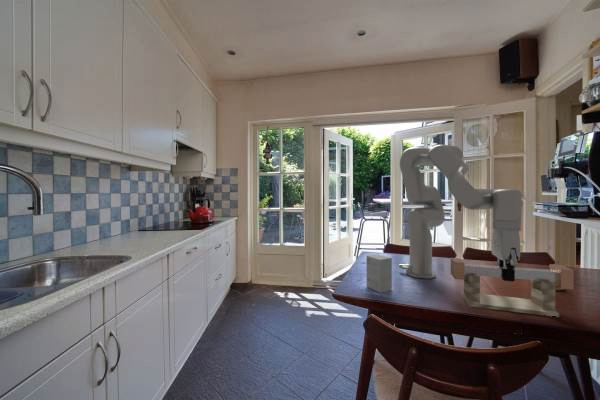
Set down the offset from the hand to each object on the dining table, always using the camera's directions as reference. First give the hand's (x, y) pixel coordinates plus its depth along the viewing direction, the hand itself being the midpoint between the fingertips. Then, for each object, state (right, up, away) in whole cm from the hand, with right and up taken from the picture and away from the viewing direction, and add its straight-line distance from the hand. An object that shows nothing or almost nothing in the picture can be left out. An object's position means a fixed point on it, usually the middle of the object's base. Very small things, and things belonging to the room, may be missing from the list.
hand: (505, 278), depth 85 cm
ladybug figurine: (+30, -9, +16) cm, 35 cm away
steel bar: (0, -1, 0) cm, 1 cm away
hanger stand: (0, -9, 0) cm, 9 cm away
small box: (-38, -9, +16) cm, 43 cm away
